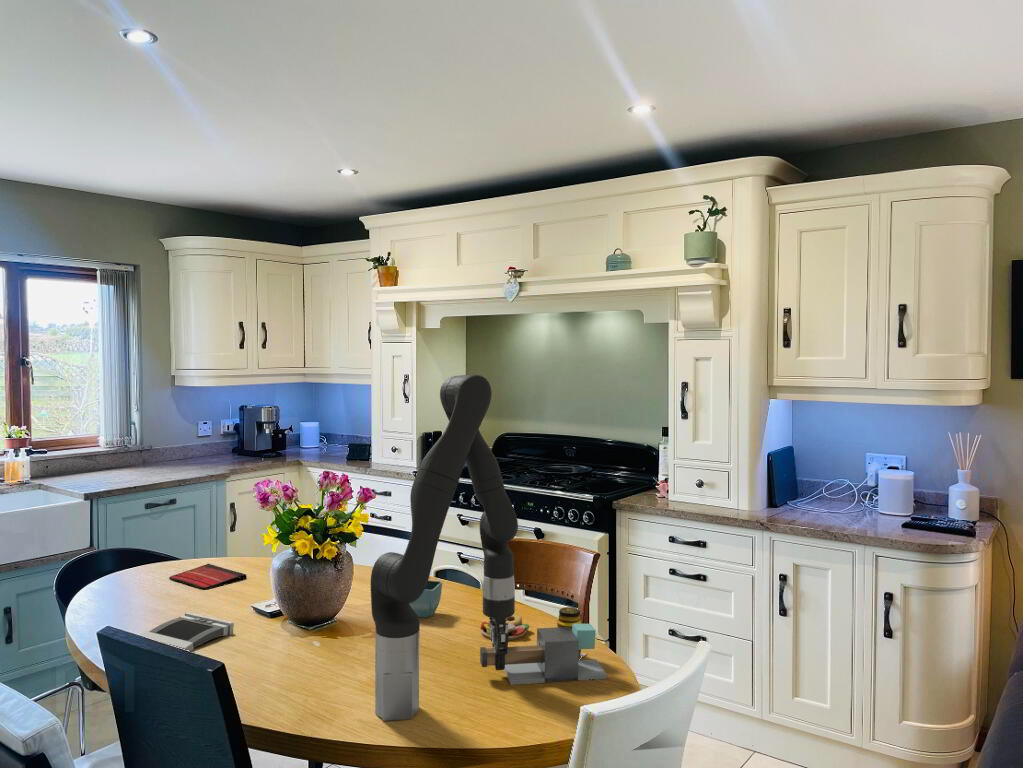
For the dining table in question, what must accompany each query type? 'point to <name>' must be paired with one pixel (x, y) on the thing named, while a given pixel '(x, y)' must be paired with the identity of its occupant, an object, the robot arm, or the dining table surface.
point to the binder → (207, 576)
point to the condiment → (569, 620)
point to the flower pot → (428, 599)
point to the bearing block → (558, 653)
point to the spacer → (584, 635)
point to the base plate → (534, 675)
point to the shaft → (513, 655)
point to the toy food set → (514, 627)
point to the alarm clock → (190, 630)
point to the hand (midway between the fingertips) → (498, 665)
